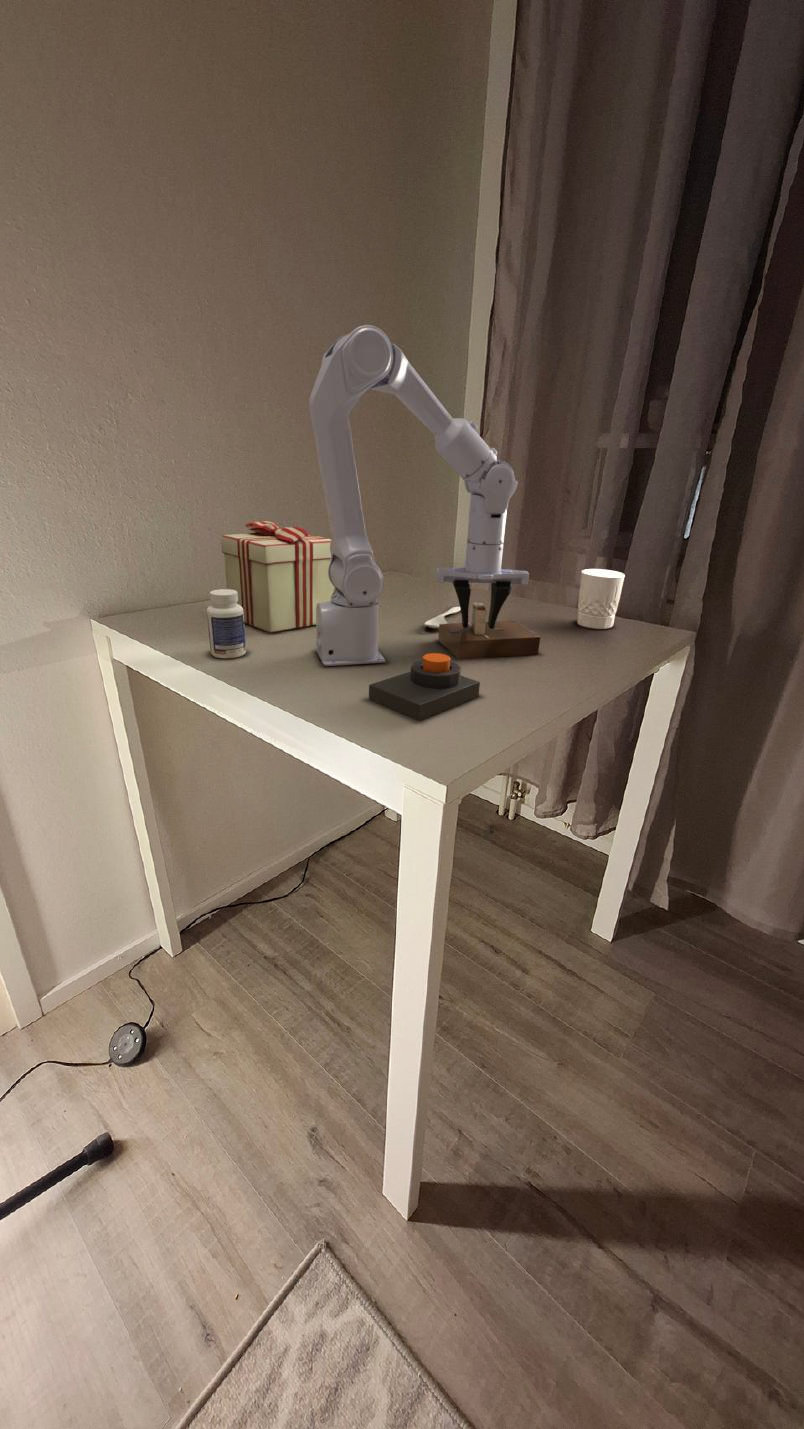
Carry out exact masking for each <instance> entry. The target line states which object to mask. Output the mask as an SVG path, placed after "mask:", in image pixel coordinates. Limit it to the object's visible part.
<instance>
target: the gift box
mask: <svg viewBox="0 0 804 1429" xmlns="http://www.w3.org/2000/svg"><path fill="white" fill-rule="evenodd" d="M244 526H245V527H246V528H247V529H248V530H249V531H251V532H249V533H237V534H235V533H233V534H222V535H221V536H220V541H221V542H220V544H221V553H222V554H224V569H225V570H224V571H225V583H226V584H225V585H226V586H225V587H226V589H230V590H235V591H237V594H238V601H237V604H238V605H240V606H241V607H242V608H243V612H244V624H247V625H249V626H251V627H255V628H257V629H260V630H263V631H264V632H268V633H275V632H280V631H281V632H282V631H286V630H292V629H299V628H305V627H310V626H315V625H316V608H317V604H318V603H320V602H328V601H331V596H332V593H333V592H334V590H335V587H334V586H333V585H332V583H331V582H330V579H329V576H328V568H329V565H330V561H331V552H330V543H331V538H327V537H323V536H320V535H319V536H318V535H312V534H311V535H310V534H309V533H308V532H307V531H306V530H305V529H303V528H301V527H299V526H290V527H287V526H285V527H283V528H279V526H278V525H277V524H276V523H275V522H273V521H268V520H262V521H261V520H257V521H251V522H247V523H245V525H244Z"/></svg>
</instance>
